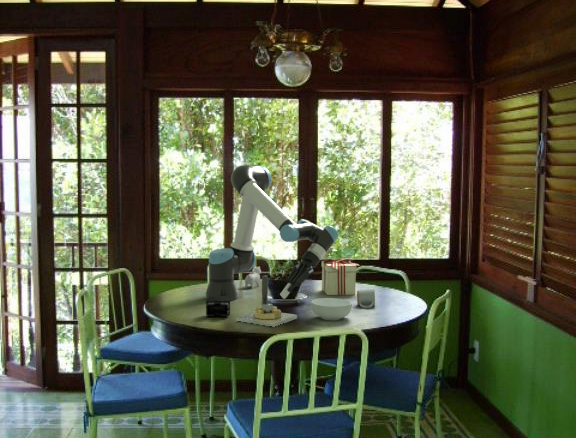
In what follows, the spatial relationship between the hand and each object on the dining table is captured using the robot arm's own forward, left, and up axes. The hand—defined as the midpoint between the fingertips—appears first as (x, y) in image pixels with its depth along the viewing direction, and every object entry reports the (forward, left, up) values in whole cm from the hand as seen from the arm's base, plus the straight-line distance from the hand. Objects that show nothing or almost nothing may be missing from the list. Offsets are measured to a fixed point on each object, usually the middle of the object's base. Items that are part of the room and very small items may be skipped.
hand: (282, 296), depth 292 cm
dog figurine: (-45, +44, -7) cm, 63 cm away
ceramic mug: (+25, +32, -7) cm, 41 cm away
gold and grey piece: (0, -13, -5) cm, 14 cm away
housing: (+2, -15, -7) cm, 17 cm away
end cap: (-19, -21, -7) cm, 29 cm away
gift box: (+1, +54, -7) cm, 54 cm away
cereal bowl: (+23, +2, -7) cm, 24 cm away
